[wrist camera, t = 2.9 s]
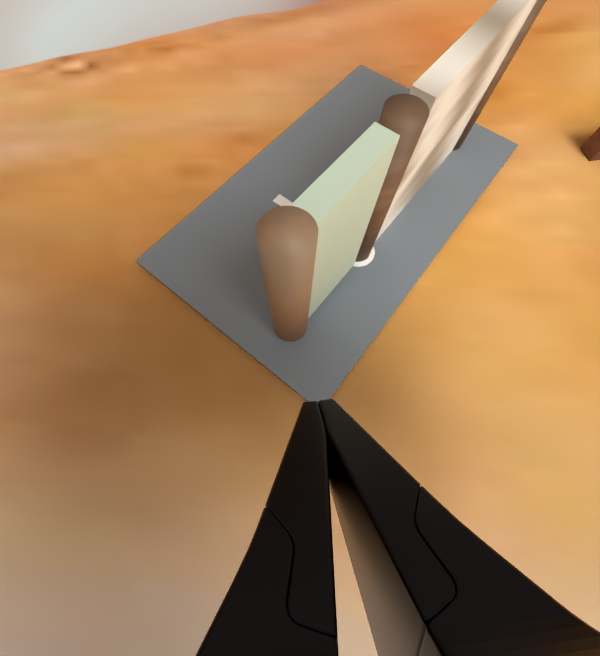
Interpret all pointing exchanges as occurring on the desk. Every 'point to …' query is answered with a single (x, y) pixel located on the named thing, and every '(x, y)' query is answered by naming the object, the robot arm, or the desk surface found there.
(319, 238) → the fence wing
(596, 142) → the miniature gate
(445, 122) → the fence section
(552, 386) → the desk surface
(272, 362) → the card
